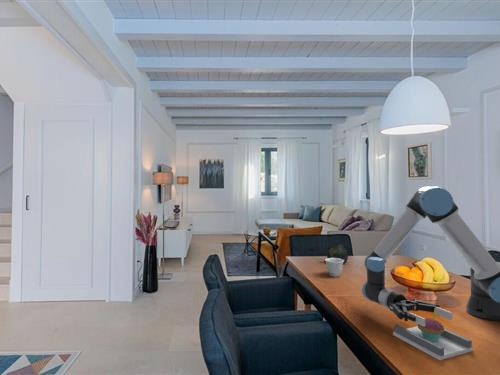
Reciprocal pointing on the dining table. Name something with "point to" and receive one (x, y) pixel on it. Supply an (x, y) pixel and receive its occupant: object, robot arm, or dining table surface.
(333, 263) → the teacup
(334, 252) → the squash
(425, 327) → the cupcake
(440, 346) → the rail board
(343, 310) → the dining table surface
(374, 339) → the dining table surface
